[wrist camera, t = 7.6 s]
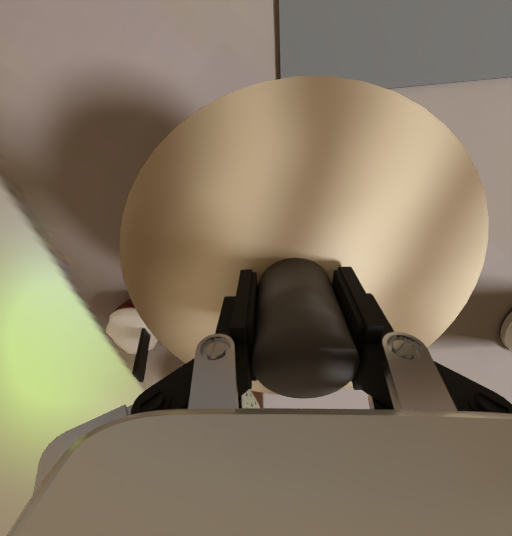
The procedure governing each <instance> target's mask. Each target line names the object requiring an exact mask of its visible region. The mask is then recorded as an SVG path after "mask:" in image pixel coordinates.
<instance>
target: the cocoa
mask: <svg viewBox="0 0 512 536" xmlns="http://www.w3.org/2000/svg"><path fill="white" fill-rule="evenodd" d="M106 333H107V334H108V335H109V336H110V337H111V338H112V339H113V340H114V342H115V343H116V344H117V345H118V346H119V347H120V348H122V349H123V350H124V351H125V352H127V353H128V354H136V357H135V362H134V367H133V372H132V374H133V375H134V376H135V377H136V378H137V380H138V381H139V382H143V380H144V375H145V369H146V362H147V356H148V351H149V350H152V349H154V347H155V346H156V344H157V342H158V340H157V339H156V337H155V336H154V335H153V334H152V333H151V331H150V330H149V329H148V328H147V326H146V325H145V323H144V322H143V320H142V319H141V317H140V316H139V314H138V313H137V311H136V309H135V307H134V305H133V302H132V300H131V299H129V300H128V301H126V302H125V303H123V304H122V305H120V306H119V307H118V308H117V309H116V310H115V311H114V312H113V313H112V314H111V315H110V318H109V323H108V325H107V327H106Z"/></svg>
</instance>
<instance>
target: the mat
mask: <svg viewBox="0 0 512 536" xmlns="http://www.w3.org/2000/svg"><path fill="white" fill-rule="evenodd" d="M279 34H280V78H281V79H283V78H289V77H295V76H333V77H340V78H346V79H353V80H359V81H365V82H368V83H371V84H374V85H377V86H380V87H383V88H386V89H391V88H402V87H412V86H423V85H433V84H444V83H454V82H465V81H475V80H486V79H496V78H507V77H512V0H279Z"/></svg>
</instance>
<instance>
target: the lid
mask: <svg viewBox="0 0 512 536" xmlns="http://www.w3.org/2000/svg"><path fill="white" fill-rule="evenodd" d="M488 227H489V217H488V210H487V203H486V196H485V192H484V189H483V186H482V183H481V180H480V177H479V174H478V171H477V169H476V167H475V166H474V164H473V162H472V160H471V158H470V157H469V155H468V153H467V151H466V150H465V148H464V146H463V145H462V144H461V143H460V142H459V141H458V139H457V138H456V137H455V136H454V135H453V133H452V132H451V131H450V130H449V129H448V127H447V126H446V125H444V124H443V123H442V122H441V121H440V120H438V119H437V118H436V117H435V116H433V115H432V114H431V113H430V112H429V111H427V110H426V109H425V108H424V107H422V106H420V105H418V104H417V103H415V102H413V101H411V100H409V99H407V98H406V97H404V96H402V95H400V94H398V93H397V92H394V91H391V90H388V89H386V88H383V87H380V86H377V85H374V84H371V83H368V82H365V81H359V80H353V79H346V78H340V77H333V76H295V77H289V78H283V79H277V80H271V81H266V82H261V83H258V84H255V85H252V86H249V87H246V88H243V89H240V90H237V91H234V92H231V93H229V94H227V95H225V96H223V97H221V98H219V99H217V100H216V101H214V102H212V103H210V104H208V105H206V106H204V107H202V108H201V109H199V110H198V111H196V112H195V113H194V114H192V115H191V116H190V117H188V118H187V119H186V120H184V121H183V122H182V123H180V124H179V125H178V126H176V127H175V128H174V129H173V130H172V131H171V133H170V134H169V135H168V136H167V137H166V138H165V139H164V140H163V141H162V142H161V143H160V144H159V145H158V146H157V147H156V148H155V150H154V151H153V152H152V154H151V155H150V157H149V158H148V159H147V161H146V162H145V164H144V165H143V167H142V168H141V169H140V171H139V173H138V176H137V178H136V180H135V182H134V184H133V186H132V188H131V190H130V192H129V195H128V198H127V202H126V205H125V208H124V211H123V215H122V222H121V229H120V261H121V267H122V273H123V278H124V281H125V284H126V287H127V290H128V294H129V296H130V298H131V300H132V302H133V305H134V307H135V309H136V311H137V313H138V314H139V316H140V317H141V319H142V320H143V322H144V323H145V325H146V326H147V328H148V329H149V330H150V331H151V333H152V334H153V335H154V336H155V337H156V339H157V340H158V341H159V342H160V343H161V344H162V345H164V346H165V347H166V348H167V349H168V350H169V351H170V352H171V353H172V354H174V355H175V356H176V357H177V358H179V359H180V360H181V361H183V362H184V363H188V362H189V361H191V360H192V359H194V358H195V351H196V347H197V345H198V344H199V342H200V341H201V340H202V339H204V338H205V337H207V336H209V335H213V334H215V332H216V328H217V324H218V320H219V316H220V312H221V308H222V304H223V300H224V297H225V296H236V292H237V287H238V281H239V276H240V271H241V270H245V269H252V271H253V272H257V284H258V292H257V307H256V321H255V336H254V350H253V358H252V368H253V372H254V375H255V376H256V378H257V381H252V389H249V390H252V391H256V392H262V393H271V394H280V395H283V396H287V397H292V398H315V397H321V396H325V395H328V394H331V393H333V392H336V391H338V390H340V389H345V388H348V387H352V386H353V384H352V381H351V380H352V379H353V378H354V376H355V375H356V373H357V371H358V368H359V355H358V352H357V349H356V347H355V344H354V341H353V339H352V336H351V333H350V331H349V328H348V326H347V323H346V320H345V318H344V315H343V312H342V310H341V307H340V304H339V302H338V299H337V297H336V294H335V291H334V289H333V286H332V280H333V272H334V270H337V269H338V267H352V269H353V270H354V272H355V274H356V276H357V278H358V279H359V281H360V283H361V285H362V287H363V288H364V290H365V292H366V293H371V294H372V295H373V296H374V298H375V299H376V301H377V303H378V304H379V306H380V308H381V310H382V311H383V313H384V315H385V316H386V318H387V320H388V321H389V323H390V325H391V326H392V328H393V330H394V332H403V333H407V334H410V335H412V336H414V337H416V338H418V339H419V340H420V341H421V342H423V343H424V345H425V346H426V347H429V346H430V345H431V344H432V343H433V342H434V341H435V340H436V339H437V338H439V337H440V336H441V335H442V334H443V332H444V331H445V330H446V329H447V328H448V327H449V326H450V325H451V323H452V322H453V321H454V320H455V319H456V317H457V316H458V314H459V313H460V312H461V310H462V309H463V307H464V306H465V304H466V303H467V301H468V299H469V297H470V295H471V293H472V292H473V290H474V288H475V286H476V284H477V281H478V278H479V275H480V273H481V270H482V267H483V264H484V259H485V254H486V249H487V244H488Z"/></svg>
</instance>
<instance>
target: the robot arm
mask: <svg viewBox="0 0 512 536" xmlns="http://www.w3.org/2000/svg"><path fill="white" fill-rule="evenodd" d="M332 286H333V289H334V291H335V294H336V297H337V299H338V302H339V304H340V307H341V310H342V312H343V315H344V318H345V320H346V323H347V326H348V328H349V331H350V333H351V336H352V339H353V341H354V344H355V347H356V349H357V352H358V355H359V368H358V371H357V373H356V375H355V376H354V378H353V379H352V380H351V381H352V384H353V388H354V390H363V391H364V392H366V393H367V394H368V401H369V406H370V409H270V408H243V405H242V395H243V394H244V393H246V392H247V391H248V390H249V389H252V381H257V378H256V376H255V375H254V372H253V368H252V358H253V350H254V336H255V321H256V307H257V292H258V284H257V272H253V271H252V269H245V270H241V271H240V276H239V281H238V287H237V292H236V296H225V297H224V300H223V304H222V308H221V312H220V316H219V320H218V324H217V328H216V332H215V334H213V335H209V336H207V337H205V338H204V339H202V340H201V341H200V342H199V344H198V345H197V347H196V351H195V358H194V359H192V360H191V361H189V362H188V363H186V364H185V365H183V366H182V367H180V368H179V369H177V370H176V371H174V372H172V373H171V374H169V375H168V376H166V377H165V378H163V379H162V380H160V381H159V382H157V383H156V384H154V385H153V386H151V387H150V388H148V389H147V390H145V391H144V392H143V393H142V394H140V395H139V396H138V398H137V399H136V400H135V401H134V404H133V405H131V406H129V407H126V405H123V406H121V407H119V408H116V409H115V410H112V411H110V412H108V413H106V414H103V415H101V416H99V417H97V418H95V419H93V420H90V421H88V422H86V423H84V424H82V425H79V426H77V427H75V428H73V429H71V430H69V431H66V432H65V433H63V434H61V435H60V436H58V437H56V438H55V439H54V440H53V441H52V442H51V443H50V444H49V445H48V446H47V448H46V449H45V451H44V452H43V453H42V456H41V458H40V461H39V465H38V471H37V476H36V482H35V487H34V492H33V496H32V497H31V499H30V500H29V502H28V503H27V505H26V506H25V508H24V509H23V511H22V512H21V514H20V515H19V517H18V518H17V520H16V522H15V523H14V525H13V526H12V528H11V530H10V531H9V532H8V534H7V536H512V404H511V403H510V402H508V401H507V400H506V399H505V398H503V397H502V396H500V395H498V394H497V393H495V392H493V391H491V390H489V389H487V388H486V387H484V386H482V385H480V384H478V383H476V382H474V381H472V380H470V379H468V378H466V377H464V376H462V375H460V374H458V373H456V372H454V371H452V370H450V369H448V368H446V367H444V366H442V365H440V364H438V363H436V362H435V361H433V359H432V357H431V355H430V353H429V351H428V349H427V347H426V346H425V345H424V343H423V342H421V341H420V340H419V339H418V338H416V337H414V336H412V335H410V334H407V333H403V332H394V330H393V328H392V326H391V325H390V323H389V321H388V320H387V318H386V316H385V315H384V313H383V311H382V310H381V308H380V306H379V304H378V303H377V301H376V299H375V298H374V296H373V295H372V294H371V293H366V292H365V290H364V288H363V287H362V285H361V283H360V281H359V279H358V278H357V276H356V274H355V272H354V270H353V269H352V267H338V269H337V270H334V272H333V280H332ZM500 337H501V340H502V342H503V344H504V345H505V346H506V347H507V348H508V349H509V350H510V351H511V352H512V311H511V313H510V314H509V315H508V316H507V317H506V319H505V321H504V322H503V325H502V328H501V333H500Z"/></svg>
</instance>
